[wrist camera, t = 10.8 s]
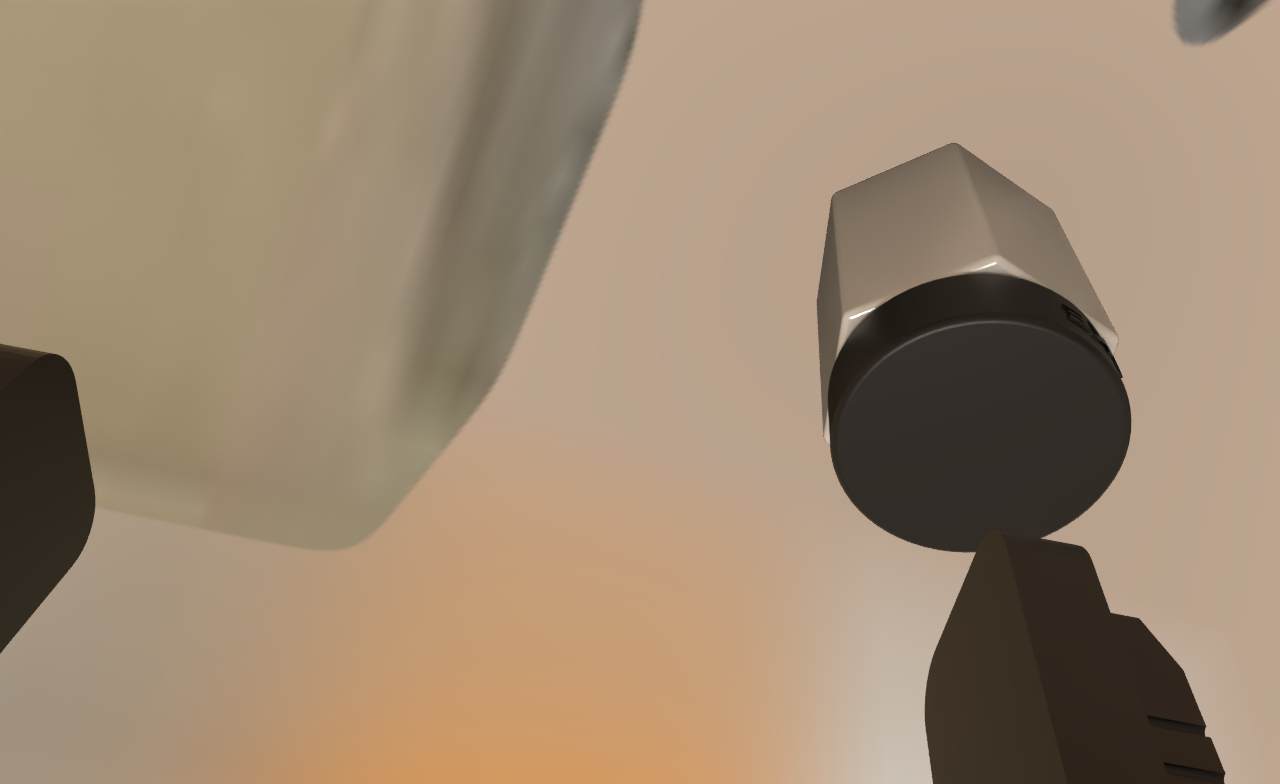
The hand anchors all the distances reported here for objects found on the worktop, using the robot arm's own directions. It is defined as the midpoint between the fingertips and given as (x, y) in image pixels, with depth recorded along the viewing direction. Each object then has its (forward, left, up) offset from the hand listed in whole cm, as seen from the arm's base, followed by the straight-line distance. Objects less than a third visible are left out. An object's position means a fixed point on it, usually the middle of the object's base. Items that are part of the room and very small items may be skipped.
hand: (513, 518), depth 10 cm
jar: (-10, +10, -30) cm, 33 cm away
